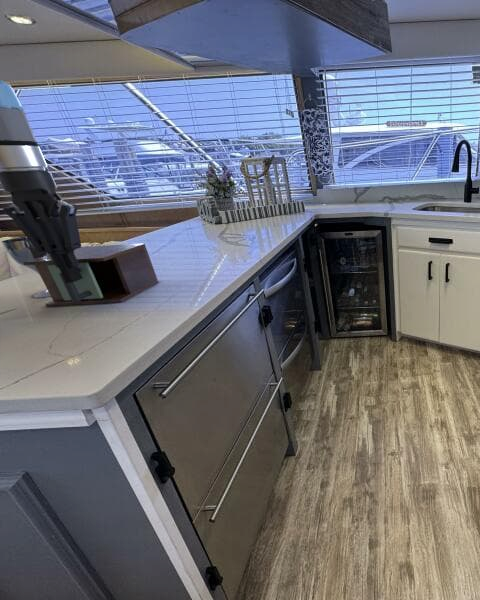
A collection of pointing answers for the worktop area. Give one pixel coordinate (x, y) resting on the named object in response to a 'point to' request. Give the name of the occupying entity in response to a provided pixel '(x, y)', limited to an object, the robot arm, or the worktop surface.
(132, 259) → the cabinet
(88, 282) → the door
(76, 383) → the worktop surface
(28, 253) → the wine glass
